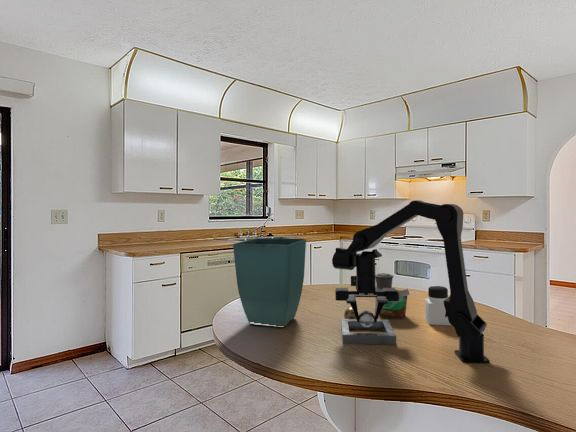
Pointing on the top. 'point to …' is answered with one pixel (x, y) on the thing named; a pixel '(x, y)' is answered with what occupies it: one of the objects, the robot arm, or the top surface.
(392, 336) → the grey square frame
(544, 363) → the top surface
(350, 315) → the bronze ball
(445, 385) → the top surface
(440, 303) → the medicine bottle
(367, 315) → the steel ball
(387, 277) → the coffee cup
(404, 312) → the food container
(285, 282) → the flower pot
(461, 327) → the robot arm
